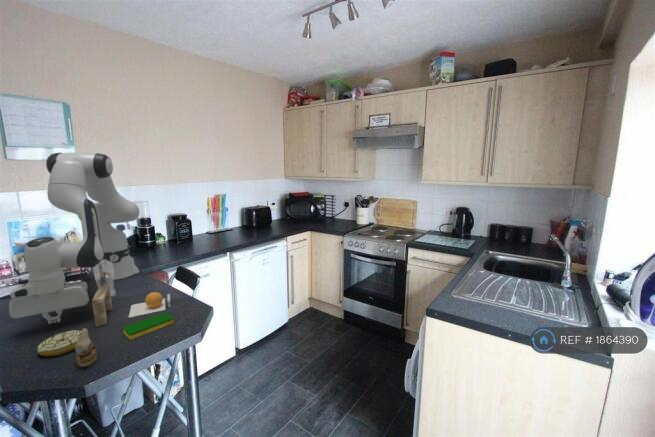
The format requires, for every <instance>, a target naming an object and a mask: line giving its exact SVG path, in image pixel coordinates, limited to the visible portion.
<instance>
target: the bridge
mask: <svg viewBox="0 0 655 437" xmlns="http://www.w3.org/2000/svg"><path fill="white" fill-rule="evenodd" d="M91 304H92V311H93V317H94V323H95V327H100V326H106V325H107V324H108V318H107V312H108V311H112V310H113V303H112V297H111V295H110V288H109V285H105V286H99V288H98V289H97V291H96V292H95V294H94V296H93V298H92V299H91Z"/></svg>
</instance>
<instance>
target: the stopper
mask: <svg viewBox="0 0 655 437" xmlns="http://www.w3.org/2000/svg"><path fill="white" fill-rule="evenodd" d="M166 297H167V298H166V300H167V308H171V307H172V303H171V302H172V301H171V300H170V299H171V294H170V293H167V295H166Z"/></svg>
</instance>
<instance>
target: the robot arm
mask: <svg viewBox="0 0 655 437" xmlns="http://www.w3.org/2000/svg"><path fill="white" fill-rule="evenodd" d="M45 164H46V169H47V171H48V173H49V174H50V175H49V179H48V184H47V199H48V202H50V204H51V205H52V206H54V207H55V208H57V209H59V210H61V211H65V212H68V213H72V214H74V215H77V217H78V219H79V221H80V223H81V229H82V230H81V231H82V240H81V241H64V242H63V241H58V240H56V238H54V237H53V236H44V237H39V238H33V239H31V240H29V241H27V242H26V243H25V245H24V250H23V251H24V253H23V254H24V255H23V256H24V265H25V269H26V270H27V272H28V279H27V280H28V282H27V283H23V284H22V285H18V286H17V287H15V288H14V289H12V291H10V293H9V296H10V298H11V299H10V300H9V303H8V312H9V316H10V317H11V318H12V319H20V318H25V317H31V316H36V315H41V314H42V315H41V316H42V317H43V318H44V319H45V320H47V323H48V325H51V324H57V323H60V322H61V321H62V319H61V315H62V314H63V311H64V310H69V309H73V308H78V307H83V306H84V307H85V306H86V305H87V304H88V303H89V301H90V298H89V294H88V289H89V288H88V283H87V281H84V280H81V279H80V280H79V279H78V280H75V281H73V280H72V281H66V279H65V273H64V271H63V269H75V268H81V269H82V268H83V269H85V268H86V269H89V268H90V269H92V268H93V267H95V266H96V265H97V264H99V263H100V262H102V261H112V264H113V268H114V281H115V280H116V281H117V280H120V279H121V280H122V279H125V278H128V277H130V276H134V275H136V274H140V272H141V271H140V269H139V268H138V267H137V266H136V264H135V261H134V258H133V257H132V256H130V248H129V247H128V242H127V241H128V240H127V234H126V233H125V232H124V231H122V230H120V229H117V228H115V227H114V226H113V225H112V224H122V223H129V222H132V221H133V222H134V221H136V220H137V219H138V218H139V215H140V208H139V206H138V205H137V204H136V202H134V201H131V200H129V199H127V198H125V197H124V196H123V195H121V194H120V193H119V192H118V190H117V189H116V186H115V184H114V182H113V181H114V180H113V178H112V176H111V175H112V174H113V171H114V166H113V161H112V159H111V158H110V157H109V156H108V155H107V154H105V153H104V154H103V153H99V152H96V153H91V152H81V151H78V152H55V153H51V154H50V155H49V156H47V158H46V163H45ZM89 198H90V199H89ZM93 201H94V202H93ZM93 269H94V268H93ZM53 312H55V313H56V314H57V316H51V315H50V313H53Z"/></svg>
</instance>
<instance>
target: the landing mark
mask: <svg viewBox="0 0 655 437" xmlns="http://www.w3.org/2000/svg"><path fill="white" fill-rule="evenodd" d="M162 311H166V298H163V300H162V303H161V304H160V305H159V306H157V307H155V308H151V307H148V306H147V305H146V303H145V302H141V303H140V302H139V303H135V304H131V306H130V310H129V314H128V318H129V319H130V318H135V317H139V316H144V315H149V314H153V313H159V312H162Z"/></svg>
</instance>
